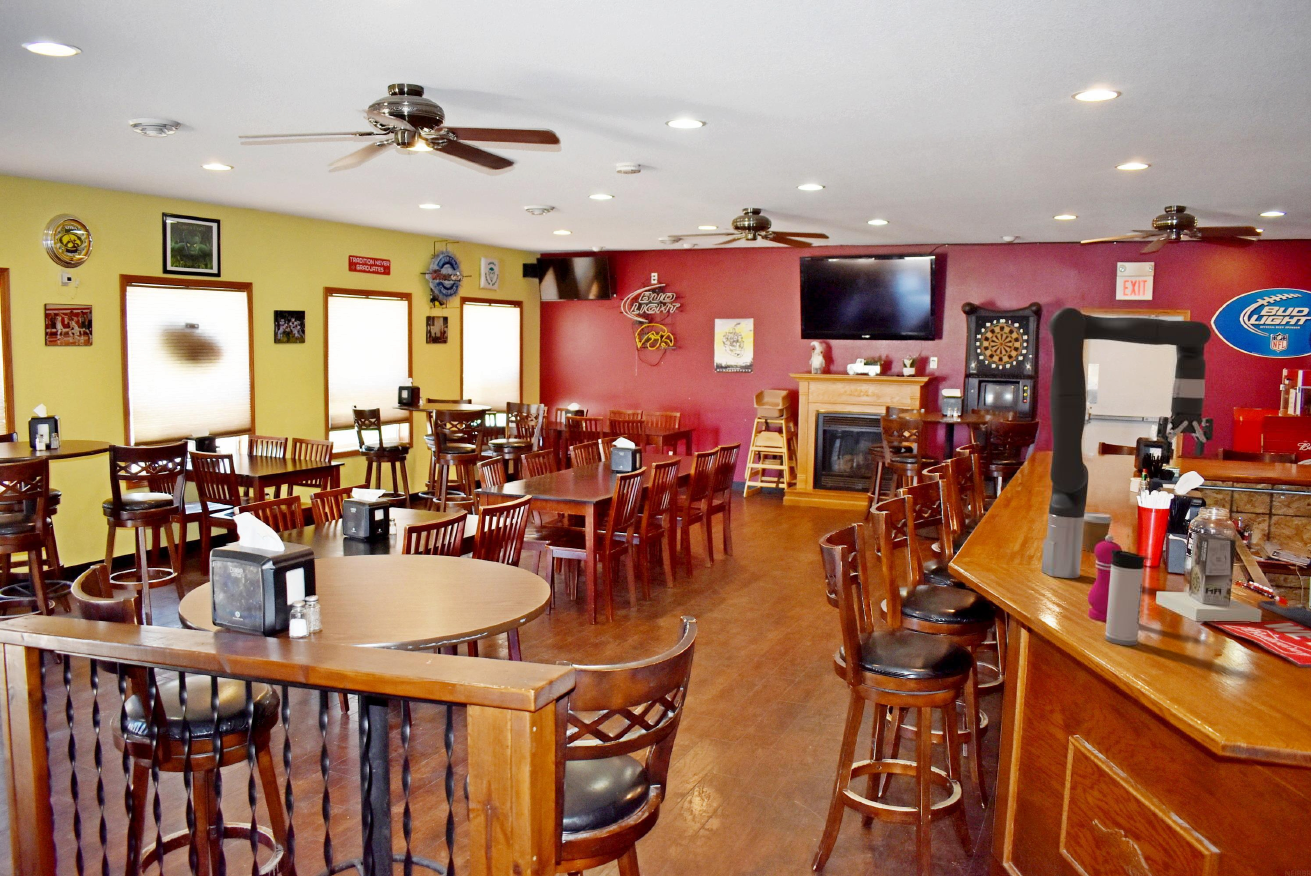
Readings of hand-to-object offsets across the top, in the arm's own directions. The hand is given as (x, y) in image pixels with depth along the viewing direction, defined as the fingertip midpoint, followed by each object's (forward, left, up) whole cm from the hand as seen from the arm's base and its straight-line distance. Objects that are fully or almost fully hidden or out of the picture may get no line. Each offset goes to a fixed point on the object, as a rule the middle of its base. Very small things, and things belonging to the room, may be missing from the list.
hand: (1182, 455), depth 251 cm
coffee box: (-8, -27, -33) cm, 43 cm away
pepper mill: (-38, -34, -36) cm, 63 cm away
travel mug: (-44, -52, -36) cm, 77 cm away
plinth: (-8, -27, -36) cm, 46 cm away
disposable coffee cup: (+2, +45, -36) cm, 58 cm away
